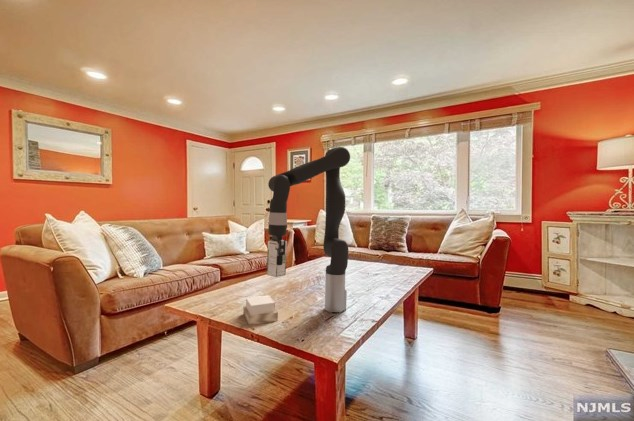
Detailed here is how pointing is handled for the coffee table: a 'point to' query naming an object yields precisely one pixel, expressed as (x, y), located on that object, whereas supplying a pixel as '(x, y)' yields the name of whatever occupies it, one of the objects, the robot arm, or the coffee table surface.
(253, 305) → the off-white top block
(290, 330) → the coffee table surface
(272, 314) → the ash base block
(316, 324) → the coffee table surface
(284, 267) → the syrup box
